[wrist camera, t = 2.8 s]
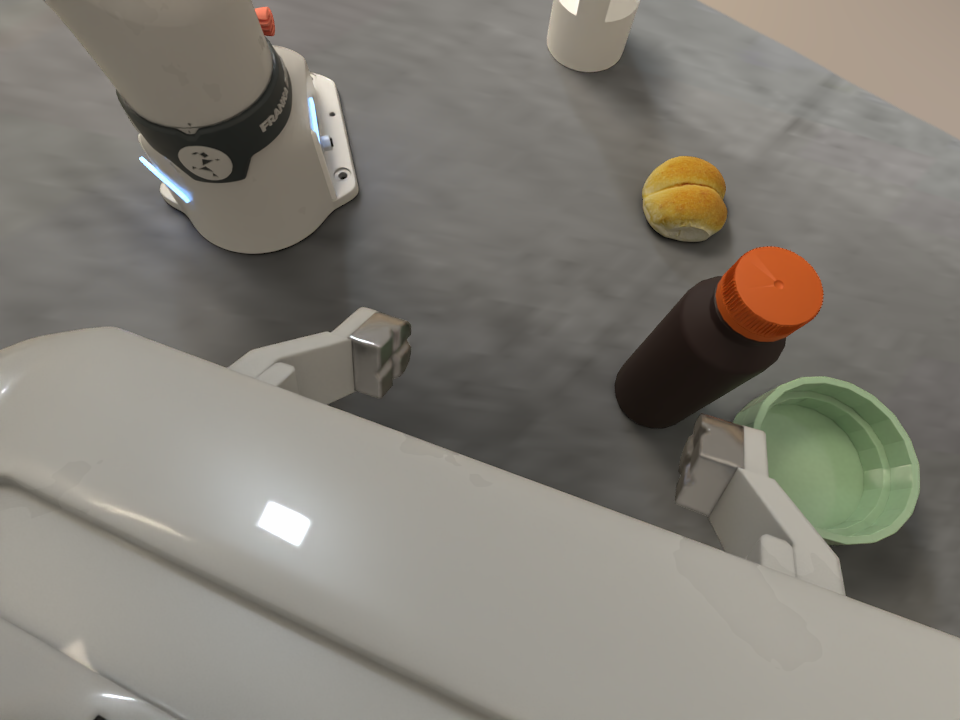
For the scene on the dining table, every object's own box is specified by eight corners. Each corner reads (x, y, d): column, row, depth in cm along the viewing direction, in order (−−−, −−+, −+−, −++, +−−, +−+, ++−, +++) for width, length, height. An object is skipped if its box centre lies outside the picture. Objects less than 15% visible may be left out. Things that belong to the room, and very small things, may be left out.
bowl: (708, 397, 47) (736, 379, 43) (846, 391, 48) (888, 373, 43) (741, 550, 43) (775, 549, 38) (892, 540, 44) (944, 538, 39)
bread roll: (717, 175, 56) (736, 148, 52) (720, 248, 53) (740, 225, 49) (639, 165, 56) (653, 137, 52) (637, 237, 53) (651, 213, 49)
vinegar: (601, 408, 47) (699, 308, 28) (629, 344, 49) (737, 212, 30) (674, 443, 46) (825, 365, 27) (699, 376, 48) (855, 261, 29)
